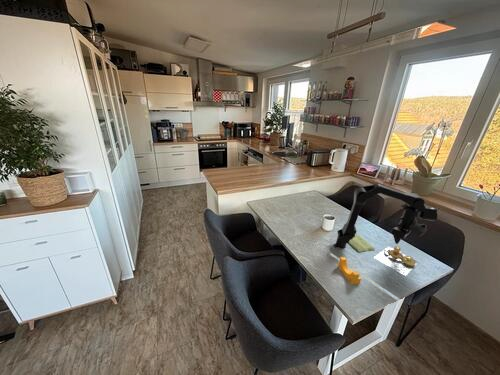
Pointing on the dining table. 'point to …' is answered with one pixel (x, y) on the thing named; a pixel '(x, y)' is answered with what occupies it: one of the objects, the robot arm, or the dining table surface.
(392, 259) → the carrier plate
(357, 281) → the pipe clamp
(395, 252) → the bronze flanged knob
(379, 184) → the robot arm
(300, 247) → the dining table surface
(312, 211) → the dining table surface
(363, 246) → the washcloth
